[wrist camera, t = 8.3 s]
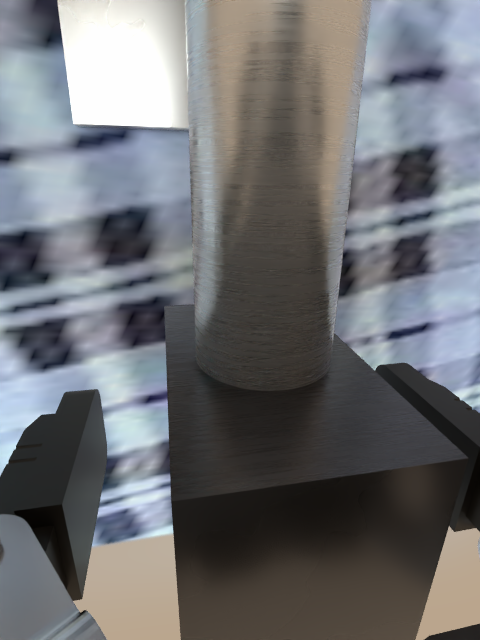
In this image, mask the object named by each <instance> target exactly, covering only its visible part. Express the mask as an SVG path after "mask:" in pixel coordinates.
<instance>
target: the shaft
mask: <svg viewBox="0 0 480 640" xmlns="http://www.w3.org/2000/svg"><path fill="white" fill-rule="evenodd" d="M371 2H372V0H185V24H186V56H187V87H188V118H189V150H190V181H191V212H192V244H193V275H194V305H175V306H164V308H165V336H166V365H167V393H168V421H169V449H170V477H171V503H172V518H173V532H174V546H175V560H176V575H177V588H178V604H179V617H180V618H179V619H180V633H181V640H415V639H416V636H417V632H418V629H419V626H420V622H421V619H422V615H423V612H424V609H425V605H426V602H427V598H428V595H429V592H430V588H431V585H432V582H433V578H434V575H435V571H436V568H437V565H438V561H439V557H440V554H441V551H442V547H443V544H444V541H445V537H446V534H447V530H448V527H449V524H450V520H451V517H452V514H453V510H454V507H455V503H456V500H457V497H458V493H459V490H460V486H461V483H462V480H463V476H464V473H465V469H466V466H467V463H468V459H469V458H468V457H467V456H466V455H465V454H464V453H463V452H462V451H461V450H459V449H458V448H457V447H456V446H455V445H454V444H453V443H452V442H451V441H450V440H449V439H448V438H447V437H445V436H444V435H443V434H442V433H441V432H440V431H439V430H438V429H437V428H436V427H435V426H434V425H433V424H431V423H430V422H429V421H428V420H427V419H426V418H425V417H424V416H423V415H422V414H421V413H420V412H418V411H417V410H416V409H415V408H414V407H413V406H412V405H411V404H410V403H409V402H408V401H407V400H406V399H404V398H403V397H402V396H401V395H400V394H399V393H398V392H397V391H396V390H395V389H394V388H393V387H392V386H390V385H389V384H388V383H387V382H386V381H385V380H384V379H383V378H382V377H381V376H380V375H379V374H378V373H376V372H375V371H374V370H373V369H372V368H371V367H370V366H369V365H368V364H367V363H366V362H365V361H364V360H362V359H361V358H360V357H359V356H358V355H357V354H356V353H355V352H354V351H353V350H352V349H351V348H349V347H348V346H347V345H346V344H345V343H344V342H343V341H342V340H341V339H340V338H339V337H338V336H337V335H335V334H334V327H335V319H336V310H337V301H338V292H339V283H340V275H341V266H342V257H343V248H344V240H345V231H346V222H347V213H348V204H349V196H350V187H351V178H352V169H353V160H354V152H355V143H356V134H357V125H358V116H359V108H360V99H361V90H362V81H363V72H364V64H365V55H366V46H367V37H368V28H369V20H370V11H371Z"/></svg>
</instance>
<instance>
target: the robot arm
mask: <svg viewBox="0 0 480 640" xmlns="http://www.w3.org/2000/svg"><path fill="white" fill-rule="evenodd" d="M375 372H376V373H378V374H379V375H380V376H381V377H382V378H383V379H384V380H385V381H386V382H387V383H388V384H389V385H390V386H392V387H393V388H394V389H395V390H396V391H397V392H398V393H399V394H400V395H401V396H402V397H403V398H404V399H406V400H407V401H408V402H409V403H410V404H411V405H412V406H413V407H414V408H415V409H416V410H417V411H418V412H420V413H421V414H422V415H423V416H424V417H425V418H426V419H427V420H428V421H429V422H430V423H431V424H433V425H434V426H435V427H436V428H437V429H438V430H439V431H440V432H441V433H442V434H443V435H444V436H445V437H447V438H448V439H449V440H450V441H451V442H452V443H453V444H454V445H455V446H456V447H457V448H458V449H459V450H461V451H462V452H463V453H464V454H465V455H466V456H467V457H468V458H469V459H468V463H467V466H466V469H465V473H464V476H463V480H462V483H461V486H460V490H459V493H458V497H457V500H456V503H455V507H454V510H453V514H452V517H451V520H450V524H449V526H450V527H451V528H452V530H453V531H454V532H456V531H462V530H466V529H472V528H477V529H478V530H479V531H480V413H478V412H477V411H476V410H472V407H470V406H469V405H468V404H466V403H465V402H464V401H463V400H462V401H460V399H459V397H457V396H456V395H455V394H453V393H452V392H451V391H449V390H448V389H447V388H445V387H444V386H441V385H439V384H437V383H435V382H433V381H431V380H429V379H427V378H426V377H425V376H423V375H422V374H421V373H419V372H418V371H417V370H416V369H414V368H413V367H412V366H410V365H409V364H407V363H397V364H386V365H379V366H378V367H377V368H376V370H375ZM106 463H107V441H106V434H105V427H104V420H103V413H102V406H101V399H100V394H99V391H98V389H94V390H83V391H71V392H65V393H64V395H63V397H62V400H61V402H60V404H59V407H58V409H57V411H56V414H46V415H41V416H40V417H39V418H37V419H36V420H35V421H34V422H33V423H32V424H31V425H30V426H28V427H27V428H26V429H25V430H24V432H23V434H22V436H21V438H20V440H19V442H18V444H17V445H16V450H14V451H13V453H12V455H11V457H10V459H9V464H7V465H6V467H5V468H4V470H3V472H2V474H1V476H0V640H106V637H105V636H104V634H103V632H102V631H101V629H100V627H99V626H98V624H97V623H96V621H95V620H94V618H93V617H92V616H91V614H90V613H88V611H86V610H84V611H83V612H81V613H80V612H79V610H78V609H77V607H76V606H75V604H74V603H73V601H74V600H80V599H82V597H83V591H84V585H85V580H86V575H87V569H88V564H89V558H90V552H91V547H92V542H93V536H94V530H95V525H96V519H97V514H98V508H99V503H100V497H101V492H102V486H103V481H104V475H105V470H106ZM478 551H479V557H480V538H479V541H478ZM425 640H480V624H477V625H472V626H468V627H464V628H460V629H456V630H452V631H448V632H443V633H439V634H435V635H431V636H429V637H427V638H426V639H425Z"/></svg>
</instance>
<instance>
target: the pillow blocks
mask: <svg viewBox="0 0 480 640" xmlns="http://www.w3.org/2000/svg"><path fill="white" fill-rule="evenodd" d="M57 2H58V9H59V17H60V25H61V32H62V40H63V47H64V55H65V63H66V70H67V78H68V86H69V93H70V101H71V108H72V116H73V124H75V125H77V126H78V127H103V128H131V129H160V130H188V131H189V118H188V87H187V56H186V24H185V0H57Z"/></svg>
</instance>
